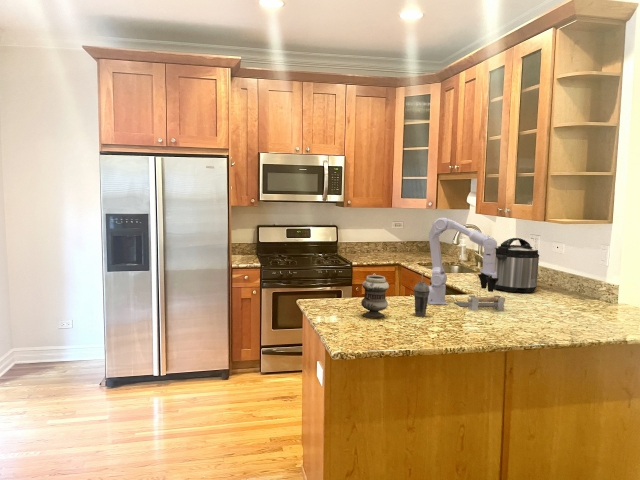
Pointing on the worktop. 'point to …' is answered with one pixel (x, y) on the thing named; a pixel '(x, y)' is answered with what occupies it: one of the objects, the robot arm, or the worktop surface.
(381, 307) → the apothecary jar
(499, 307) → the hook stands
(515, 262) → the pressure cooker
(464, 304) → the mat
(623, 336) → the worktop surface
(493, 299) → the rail
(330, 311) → the worktop surface
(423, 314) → the beverage cup
